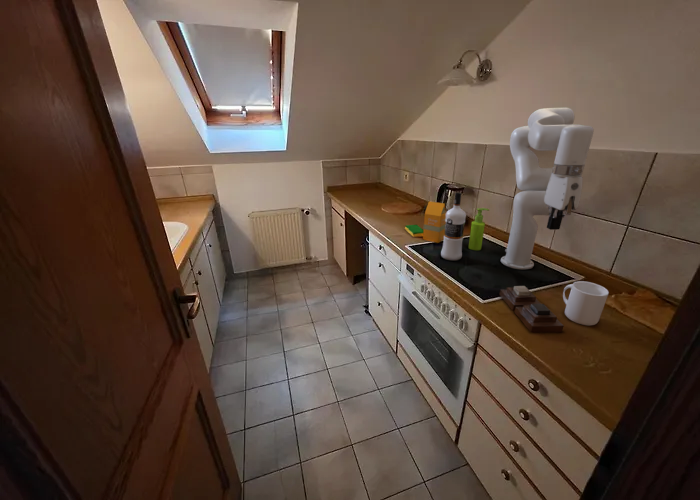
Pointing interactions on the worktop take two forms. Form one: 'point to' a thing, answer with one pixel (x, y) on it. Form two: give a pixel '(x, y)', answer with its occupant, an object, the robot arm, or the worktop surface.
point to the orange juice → (434, 222)
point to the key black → (540, 309)
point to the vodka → (454, 231)
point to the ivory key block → (517, 298)
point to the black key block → (538, 320)
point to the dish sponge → (414, 230)
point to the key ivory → (521, 290)
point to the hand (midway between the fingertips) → (552, 228)
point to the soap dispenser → (477, 231)
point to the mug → (585, 302)
